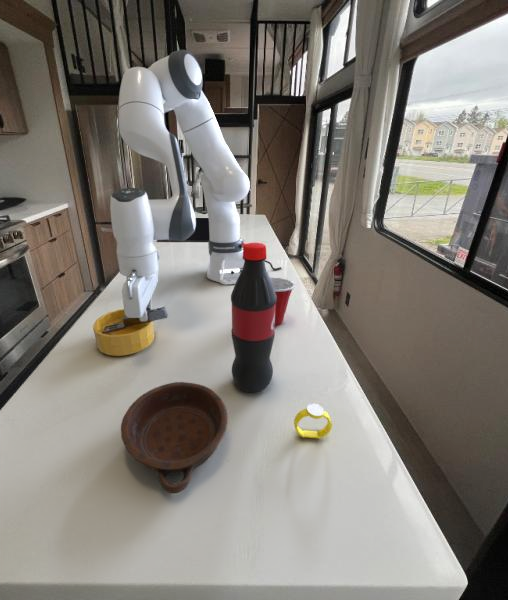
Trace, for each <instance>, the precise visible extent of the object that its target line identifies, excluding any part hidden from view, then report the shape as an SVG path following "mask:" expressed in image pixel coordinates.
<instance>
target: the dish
mask: <svg viewBox="0 0 508 600" xmlns="http://www.w3.org/2000/svg"><path fill="white" fill-rule="evenodd" d="M228 417H229V415H228V409H227V407H226V405H225V402H224V401H223V400H222V398H221V397H220V395H218V394H217V393H216V392H215V391H213V389H211V388H209V387H208V386H205V385H203V384H199V383H194V382H187V381H186V382H185V381H174V382H169V383H165V384H162V385H159V386H157V387H154V388H152V389H150V390H148V391H146V392H145V393H143V394H142V395H140V396H139V397H137V399H135V401H134V402H132V403H131V405H130V406H129V407H128V409H127V410H126V412H125V414H124V416H123V418H122V420H121V424H120V433H121V434H120V435H121V440H122V443H123V445H124V447H125V449H126V450H127V452H128V453H129V454H130V455H131V456H132V457H133V458H134V459H136V460H137V461H139V462H140V463H142V464H143V465H145V466H146V467H148V469H151V470H153V471H156V474H157V476H158V481H159V484H160V486H161V488H162V489H163V491H165V492H167V493H169V494H173V495H174V494H178V493H181V492H182V491H184V490H185V489H186V488H187V487H188V485H189V483H190V480H191V478H192V474H193V471H194V470H195V469H196V468H198V467H200V466H201V465H203V464H204V463H206V462H207V461H208V460H209V459H210V458H211V457H212V456H213V454H214V453H215V451H216V450H217V448H218V446H219V444H220V443H221V441H222V439H223V437H224V436H225V433H226V431H227V426H228V421H229V418H228ZM173 474H183V477H182V480H180V481H179V482H176V483H173V482H170V481H169V480H168V478H167V477H168V476H169V475H173Z"/></svg>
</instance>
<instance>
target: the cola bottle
mask: <svg viewBox="0 0 508 600" xmlns="http://www.w3.org/2000/svg"><path fill="white" fill-rule="evenodd" d="M246 243H247V242H246ZM243 260H245V261H244V266H243V269H242V271H241V273H240V275H239V277H238V279H237V281H236V284H234V286H233V289H232V292H231V294H230V302H231V331H230V333H231V339H232V344H233V350H234V355H235V356H234V359H233V362H232V365H231V375H232V379H233V382H234V384H235V385H236V387H237V388H238V389H240V390H242V391H245V392H247V393H259V392H261V391H264V390H265V389H266V388H268V386H269V385H270V383H271V381H272V379H273V375H274V368H273V363H272V360H271V353H272V349H273V345H274V341H275V335H276V329H275V327H276V326H275V307H276V301H277V296H276V293H275V289H274V286H273V283H272V281H271V278H270V277H271V276H270V274H269V272H268V271H267V267H266V262H264V260H266V261H267V247H266V244H265V243H262V242H248V243H247V244H245V245H244V248H243Z"/></svg>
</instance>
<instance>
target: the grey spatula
mask: <svg viewBox="0 0 508 600" xmlns="http://www.w3.org/2000/svg"><path fill="white" fill-rule="evenodd" d="M147 312H148V319H147V321H144V322H141V321H140V318H127V317H126V316H123V318H122V321H123V322H121V323H117V324H112V325H108V326H105V328H104V329H103V330H104V331H102V333H108V332H112V331H117V330H121V329H125V327H129V326H134V325H138V324H142V323H147V322H151V321H153V322H156V321H159V320H163V319H167V318H168V316H169V314H168V311H167V308H166V307H165V306H161V307H157V308H152V310H148V311H147Z"/></svg>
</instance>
